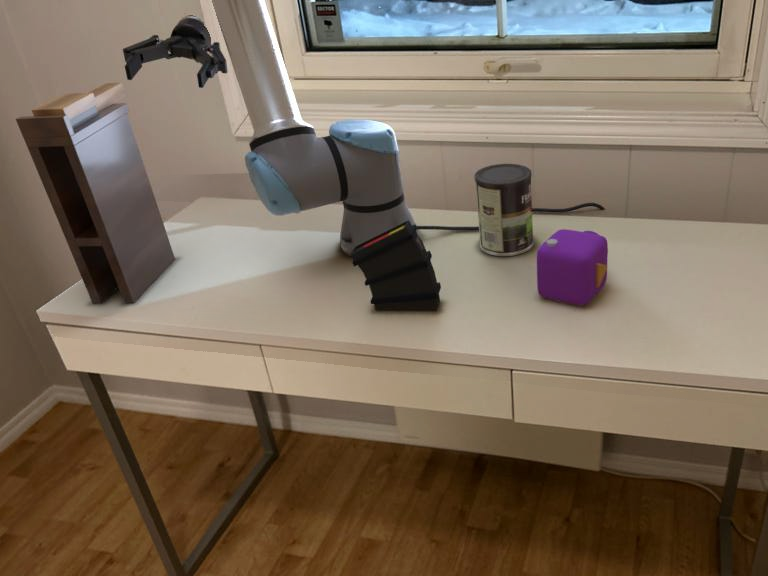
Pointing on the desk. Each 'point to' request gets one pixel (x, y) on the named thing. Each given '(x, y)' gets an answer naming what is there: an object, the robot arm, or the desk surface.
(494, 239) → the coffee can
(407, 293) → the magazine
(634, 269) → the desk surface
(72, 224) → the shelf
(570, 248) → the toy camera
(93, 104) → the tan block
